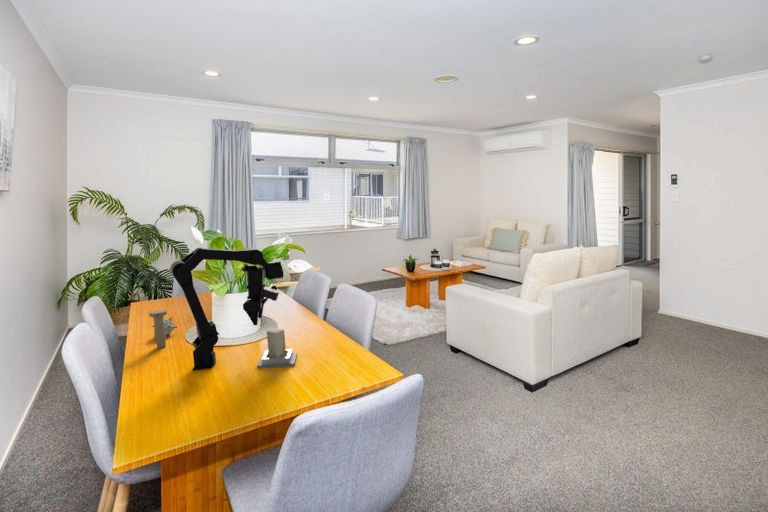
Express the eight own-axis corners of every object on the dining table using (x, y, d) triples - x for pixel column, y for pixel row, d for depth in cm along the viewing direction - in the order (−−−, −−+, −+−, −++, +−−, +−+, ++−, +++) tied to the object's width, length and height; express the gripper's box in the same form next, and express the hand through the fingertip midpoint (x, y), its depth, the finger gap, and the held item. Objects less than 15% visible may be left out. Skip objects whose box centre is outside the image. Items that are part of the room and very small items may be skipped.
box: (286, 358, 156) (285, 329, 154) (277, 362, 153) (275, 333, 151) (277, 355, 159) (275, 327, 157) (268, 359, 156) (266, 330, 154)
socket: (257, 368, 150) (256, 360, 150) (262, 357, 160) (261, 350, 160) (294, 366, 152) (293, 358, 151) (297, 355, 161) (296, 348, 161)
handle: (169, 347, 172) (166, 312, 170) (151, 350, 170) (148, 314, 168) (170, 344, 177) (167, 309, 175) (153, 346, 174) (149, 311, 172)
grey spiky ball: (162, 343, 189) (154, 323, 191) (181, 333, 192) (173, 314, 194) (156, 339, 181) (147, 319, 183) (176, 330, 183) (167, 310, 186)
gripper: (273, 286, 151) (275, 328, 154) (280, 275, 170) (282, 313, 172) (241, 287, 150) (244, 329, 152) (251, 277, 168) (254, 315, 171)
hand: (257, 321), depth 162 cm, fingers open, 9 cm apart
